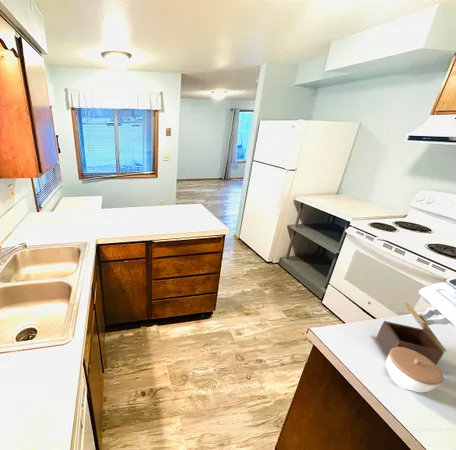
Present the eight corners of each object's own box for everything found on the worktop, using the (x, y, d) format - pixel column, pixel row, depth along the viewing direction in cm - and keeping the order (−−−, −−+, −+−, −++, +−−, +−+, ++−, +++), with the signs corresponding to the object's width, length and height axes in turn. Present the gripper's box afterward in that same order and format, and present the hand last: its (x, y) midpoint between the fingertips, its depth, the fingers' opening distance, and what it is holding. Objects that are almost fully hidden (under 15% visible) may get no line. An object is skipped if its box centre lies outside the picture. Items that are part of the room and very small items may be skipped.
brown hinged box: (389, 361, 77) (399, 342, 74) (375, 338, 85) (383, 320, 82) (431, 372, 74) (444, 352, 71) (413, 347, 82) (423, 329, 79)
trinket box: (385, 388, 69) (399, 367, 65) (375, 357, 77) (387, 337, 73) (437, 407, 64) (455, 386, 60) (420, 372, 73) (435, 352, 69)
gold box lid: (422, 323, 70) (425, 322, 70) (403, 303, 78) (406, 302, 78) (443, 351, 71) (446, 351, 70) (422, 328, 79) (425, 327, 79)
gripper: (527, 338, 58) (455, 355, 64) (459, 289, 76) (408, 306, 82) (512, 319, 57) (441, 338, 64) (447, 274, 75) (397, 293, 82)
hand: (422, 320), depth 73 cm, fingers closed
